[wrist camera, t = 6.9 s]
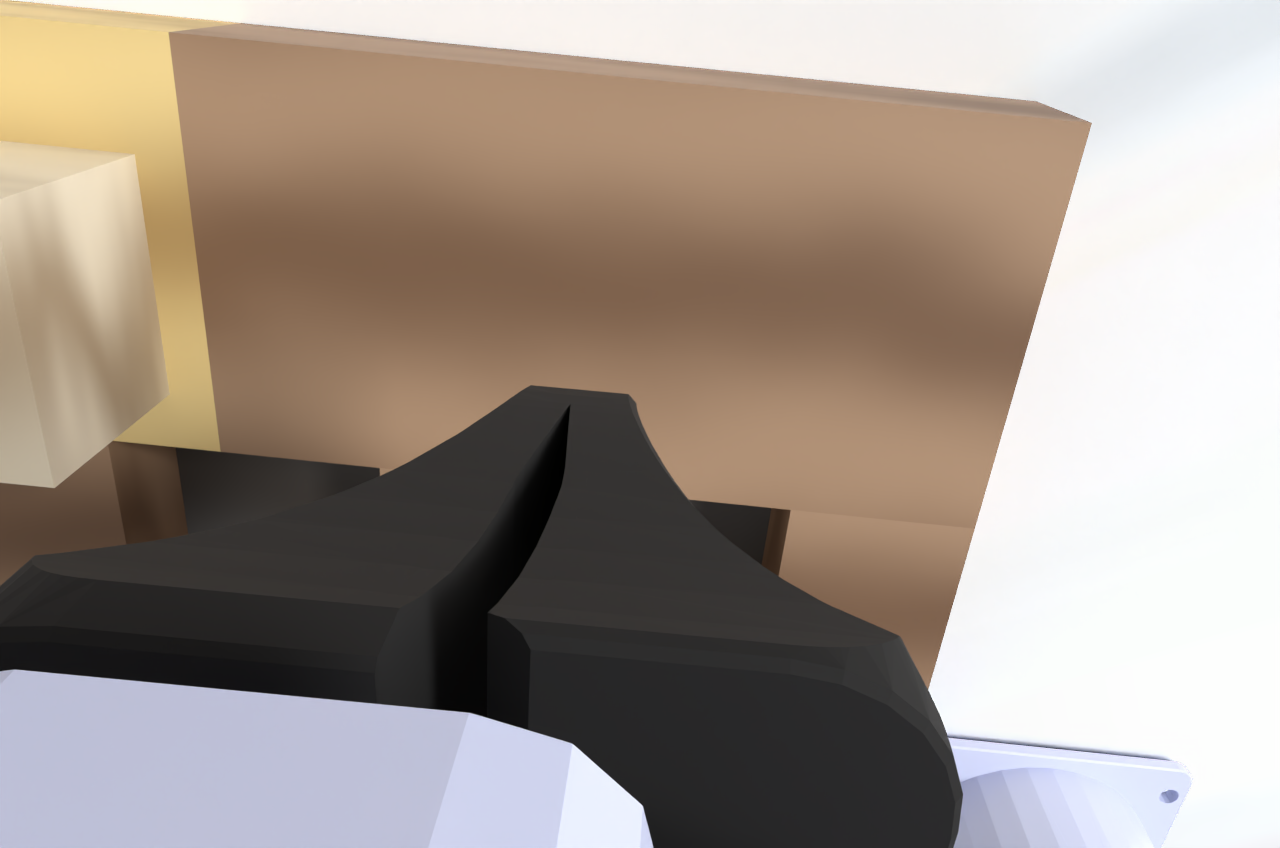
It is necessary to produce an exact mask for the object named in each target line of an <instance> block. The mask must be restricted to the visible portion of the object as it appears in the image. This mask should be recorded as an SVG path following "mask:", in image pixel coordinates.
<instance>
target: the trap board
mask: <svg viewBox="0 0 1280 848" xmlns="http://www.w3.org/2000/svg"><path fill="white" fill-rule="evenodd" d="M1091 124H1092V123H1090V122H1088V121H1085V120H1082V119H1080V118H1077V117H1075V116H1072V115H1070V114H1067V113H1064V112H1062V111H1059V110H1057V109H1054V108H1052V107H1049V106H1046V105H1044V104H1041V103H1039V102H1036V101H1026V100H1016V99H1006V98H996V97H985V96H975V95H965V94H955V93H945V92H935V91H924V90H914V89H904V88H894V87H884V86H874V85H863V84H853V83H843V82H833V81H823V80H813V79H802V78H792V77H782V76H772V75H762V74H752V73H741V72H731V71H721V70H711V69H701V68H691V67H680V66H670V65H660V64H650V63H640V62H630V61H619V60H609V59H599V58H589V57H579V56H569V55H558V54H548V53H538V52H528V51H518V50H508V49H497V48H487V47H477V46H467V45H457V44H447V43H436V42H426V41H416V40H406V39H396V38H386V37H375V36H365V35H355V34H345V33H335V32H325V31H314V30H304V29H294V28H284V27H274V26H264V25H253V24H243V23H233V22H223V21H213V20H203V19H192V18H182V17H172V16H162V15H152V14H142V13H131V12H121V11H111V10H101V9H91V8H81V7H70V6H60V5H50V4H40V3H30V2H20V1H9V0H0V141H8V142H18V143H28V144H38V145H48V146H58V147H68V148H78V149H88V150H98V151H108V152H118V153H128V154H135V160H136V167H137V174H138V181H139V187H140V194H141V201H142V208H143V215H144V222H145V228H146V235H147V242H148V249H149V256H150V263H151V269H152V276H153V283H154V290H155V297H156V304H157V310H158V317H159V324H160V331H161V338H162V345H163V351H164V358H165V365H166V372H167V379H168V386H169V392H170V395H168V396H167V397H166V398H165V399H163V400H162V401H161V402H160V403H159V404H157V405H156V406H155V407H154V408H152V409H151V410H150V411H149V412H147V413H146V414H145V415H144V416H143V417H141V418H140V419H139V420H138V421H136V422H135V423H134V424H133V425H132V426H130V427H129V428H128V429H127V430H125V431H124V432H123V433H122V434H120V435H119V436H118V437H117V438H116V439H114V440H113V441H112V442H111V443H109V444H108V445H107V446H106V447H104V448H103V449H102V450H101V451H100V452H98V453H97V454H96V455H95V456H93V457H92V458H91V459H90V460H88V461H87V462H86V463H85V464H84V465H82V466H81V467H80V468H79V469H77V470H76V471H75V472H74V473H72V474H71V475H70V476H69V477H68V478H66V479H65V480H64V481H63V482H61V483H60V484H59V485H58V486H57V487H55V488H48V487H38V486H29V485H19V484H9V483H0V586H1V585H2V584H3V583H4V582H5V581H6V580H7V579H9V578H10V577H11V576H12V575H13V574H14V573H15V572H16V571H18V570H19V569H20V568H21V567H22V566H23V565H24V564H26V563H27V562H28V561H29V560H30V559H31V558H32V557H34V556H35V555H44V554H54V553H64V552H72V551H79V550H87V549H95V548H103V547H110V546H118V545H126V544H134V543H141V542H149V541H155V540H160V539H166V538H172V537H178V536H183V535H188V534H193V533H198V532H202V531H207V530H212V529H217V528H222V527H226V526H230V525H234V524H238V523H242V522H247V521H251V520H255V519H259V518H262V517H266V516H269V515H272V514H276V513H279V512H282V511H285V510H288V509H291V508H295V507H298V506H301V505H304V504H307V503H310V502H313V501H317V500H320V499H323V498H326V497H329V496H332V495H335V494H337V493H340V492H343V491H345V490H348V489H350V488H353V487H355V486H357V485H360V484H362V483H365V482H367V481H369V480H372V479H374V478H377V477H379V476H381V475H383V474H385V473H387V472H389V471H392V470H394V469H396V468H398V467H400V466H402V465H404V464H406V463H408V462H410V461H411V460H413V459H415V458H417V457H418V456H420V455H422V454H424V453H425V452H427V451H429V450H430V449H432V448H434V447H436V446H437V445H439V444H441V443H443V442H444V441H446V440H448V439H450V438H451V437H453V436H455V435H457V434H458V433H460V432H461V431H463V430H464V429H466V428H467V427H469V426H470V425H472V424H473V423H475V422H476V421H478V420H479V419H481V418H482V417H484V416H485V415H487V414H488V413H490V412H491V411H493V410H494V409H496V408H497V407H499V406H500V405H501V404H503V403H504V402H506V401H507V400H509V399H510V398H511V397H513V396H514V395H516V394H517V393H519V392H520V391H522V390H523V389H525V388H526V387H528V386H530V385H534V386H546V387H557V388H568V389H579V390H590V391H601V392H612V393H623V394H629V395H630V396H631V397H632V399H633V400H634V401H635V402H636V403H637V411H638V414H639V417H640V420H641V422H642V425H643V427H644V429H645V431H646V434H647V436H648V438H649V440H650V442H651V444H652V445H653V447H654V449H655V451H656V452H657V454H658V456H659V457H660V459H661V461H662V462H663V464H664V466H665V467H666V469H667V470H668V472H669V473H670V475H671V476H672V478H673V479H674V481H675V482H676V484H677V485H678V486H679V488H680V489H681V490H682V492H683V493H684V494H685V496H686V497H687V498H688V500H689V501H690V502H691V503H692V504H693V506H694V507H695V508H696V509H697V510H698V511H699V512H700V513H701V514H702V515H703V516H704V517H705V518H706V519H707V520H708V521H709V522H710V523H711V524H712V525H713V526H714V527H715V528H716V529H717V530H718V531H719V532H720V533H721V534H722V535H724V536H725V537H726V538H727V539H728V540H729V541H731V542H732V543H733V544H734V545H736V546H737V547H738V548H740V549H741V550H742V551H743V552H745V553H746V554H747V555H749V556H750V557H751V558H753V559H754V560H755V561H757V562H758V563H759V564H761V565H762V566H763V567H765V568H767V569H768V570H770V571H771V572H773V573H774V574H776V575H777V576H779V577H780V578H782V579H783V580H785V581H787V582H789V583H790V584H792V585H794V586H796V587H797V588H799V589H801V590H803V591H804V592H806V593H808V594H810V595H811V596H813V597H815V598H817V599H818V600H820V601H822V602H824V603H826V604H828V605H830V606H832V607H835V608H837V609H839V610H842V611H844V612H846V613H848V614H851V615H853V616H855V617H858V618H860V619H862V620H865V621H867V622H869V623H871V624H874V625H876V626H878V627H881V628H883V629H885V630H888V631H890V632H892V633H894V634H897V635H899V636H900V637H901V639H902V640H903V642H904V644H905V646H906V648H907V650H908V652H909V654H910V656H911V658H912V660H913V662H914V664H915V666H916V668H917V669H918V671H919V673H920V675H921V677H922V679H923V681H924V683H925V685H926V687H927V689H928V688H929V685H930V681H931V678H932V674H933V671H934V667H935V664H936V660H937V657H938V654H939V650H940V647H941V643H942V640H943V636H944V633H945V629H946V626H947V622H948V619H949V615H950V612H951V609H952V605H953V602H954V598H955V595H956V591H957V588H958V584H959V581H960V577H961V574H962V570H963V567H964V564H965V560H966V557H967V553H968V550H969V546H970V543H971V539H972V536H973V532H974V529H975V525H976V522H977V519H978V515H979V512H980V508H981V505H982V501H983V498H984V494H985V491H986V487H987V484H988V480H989V477H990V474H991V470H992V467H993V463H994V460H995V456H996V453H997V449H998V446H999V442H1000V439H1001V435H1002V432H1003V429H1004V425H1005V422H1006V418H1007V415H1008V411H1009V408H1010V404H1011V401H1012V397H1013V394H1014V390H1015V387H1016V384H1017V380H1018V377H1019V373H1020V370H1021V366H1022V363H1023V359H1024V356H1025V352H1026V349H1027V345H1028V342H1029V339H1030V335H1031V332H1032V328H1033V325H1034V321H1035V318H1036V314H1037V311H1038V307H1039V304H1040V300H1041V297H1042V294H1043V290H1044V287H1045V283H1046V280H1047V276H1048V273H1049V269H1050V266H1051V262H1052V259H1053V255H1054V252H1055V249H1056V245H1057V242H1058V238H1059V235H1060V231H1061V228H1062V224H1063V221H1064V217H1065V214H1066V210H1067V207H1068V204H1069V200H1070V197H1071V193H1072V190H1073V186H1074V183H1075V179H1076V176H1077V172H1078V169H1079V165H1080V162H1081V159H1082V155H1083V152H1084V148H1085V145H1086V141H1087V138H1088V134H1089V131H1090V127H1091Z"/></svg>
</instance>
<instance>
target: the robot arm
mask: <svg viewBox="0 0 1280 848" xmlns="http://www.w3.org/2000/svg"><path fill="white" fill-rule="evenodd" d="M1192 781H1193V778H1192V776H1191V774H1190V772H1189V771H1188V769H1187V767H1186V766H1185V765H1183V764H1182V763H1180V762H1176V761H1168V760H1158V759H1148V758H1139V757H1129V756H1119V755H1110V754H1100V753H1091V752H1081V751H1071V750H1062V749H1052V748H1042V747H1033V746H1023V745H1013V744H1004V743H994V742H985V741H975V740H965V739H956V738H948V736H947V733H946V731H945V728H944V725H943V722H942V720H941V717H940V715H939V712H938V710H937V708H936V706H935V704H934V702H933V700H932V698H931V695H930V693H929V691H928V689H927V687H926V685H925V683H924V681H923V679H922V677H921V675H920V673H919V671H918V669H917V668H916V666H915V664H914V662H913V660H912V658H911V656H910V654H909V652H908V650H907V648H906V646H905V644H904V642H903V640H902V639H901V637H900V636H899V635H897V634H894V633H892V632H890V631H888V630H885V629H883V628H881V627H878V626H876V625H874V624H871V623H869V622H867V621H865V620H862V619H860V618H858V617H855V616H853V615H851V614H848V613H846V612H844V611H842V610H839V609H837V608H835V607H832V606H830V605H828V604H826V603H824V602H822V601H820V600H818V599H817V598H815V597H813V596H811V595H810V594H808V593H806V592H804V591H803V590H801V589H799V588H797V587H796V586H794V585H792V584H790V583H789V582H787V581H785V580H783V579H782V578H780V577H779V576H777V575H776V574H774V573H773V572H771V571H770V570H768V569H767V568H765V567H763V566H762V565H761V564H759V563H758V562H757V561H755V560H754V559H753V558H751V557H750V556H749V555H747V554H746V553H745V552H743V551H742V550H741V549H740V548H738V547H737V546H736V545H734V544H733V543H732V542H731V541H729V540H728V539H727V538H726V537H725V536H724V535H722V534H721V533H720V532H719V531H718V530H717V529H716V528H715V527H714V526H713V525H712V524H711V523H710V522H709V521H708V520H707V519H706V518H705V517H704V516H703V515H702V514H701V513H700V512H699V511H698V510H697V509H696V508H695V507H694V506H693V504H692V503H691V502H690V501H689V500H688V498H687V497H686V496H685V494H684V493H683V492H682V490H681V489H680V488H679V486H678V485H677V484H676V482H675V481H674V479H673V478H672V476H671V475H670V473H669V472H668V470H667V469H666V467H665V466H664V464H663V462H662V461H661V459H660V457H659V456H658V454H657V452H656V451H655V449H654V447H653V445H652V444H651V442H650V440H649V438H648V436H647V434H646V431H645V429H644V427H643V425H642V422H641V420H640V417H639V414H638V411H637V403H636V402H635V401H634V400H633V399H632V397H631V396H630V395H629V394H623V393H612V392H601V391H590V390H579V389H568V388H557V387H546V386H534V385H530V386H528V387H526V388H525V389H523V390H522V391H520V392H519V393H517V394H516V395H514V396H513V397H511V398H510V399H509V400H507V401H506V402H504V403H503V404H501V405H500V406H499V407H497V408H496V409H494V410H493V411H491V412H490V413H488V414H487V415H485V416H484V417H482V418H481V419H479V420H478V421H476V422H475V423H473V424H472V425H470V426H469V427H467V428H466V429H464V430H463V431H461V432H460V433H458V434H457V435H455V436H453V437H451V438H450V439H448V440H446V441H444V442H443V443H441V444H439V445H437V446H436V447H434V448H432V449H430V450H429V451H427V452H425V453H424V454H422V455H420V456H418V457H417V458H415V459H413V460H411V461H410V462H408V463H406V464H404V465H402V466H400V467H398V468H396V469H394V470H392V471H389V472H387V473H385V474H383V475H381V476H379V477H377V478H374V479H372V480H369V481H367V482H365V483H362V484H360V485H357V486H355V487H353V488H350V489H348V490H345V491H343V492H340V493H337V494H335V495H332V496H329V497H326V498H323V499H320V500H317V501H313V502H310V503H307V504H304V505H301V506H298V507H295V508H291V509H288V510H285V511H282V512H279V513H276V514H272V515H269V516H266V517H262V518H259V519H255V520H251V521H247V522H242V523H238V524H234V525H230V526H226V527H222V528H217V529H212V530H207V531H202V532H198V533H193V534H188V535H183V536H178V537H172V538H166V539H160V540H155V541H149V542H141V543H134V544H126V545H118V546H110V547H103V548H95V549H87V550H79V551H72V552H64V553H54V554H44V555H35V556H34V557H32V558H31V559H30V560H29V561H28V562H27V563H26V564H24V565H23V566H22V567H21V568H20V569H19V570H18V571H16V572H15V573H14V574H13V575H12V576H11V577H10V578H9V579H7V580H6V581H5V582H4V583H3V584H2V585H1V586H0V848H1162V846H1163V844H1164V841H1165V839H1166V837H1167V835H1168V833H1169V831H1170V829H1171V827H1172V825H1173V823H1174V821H1175V818H1176V816H1177V814H1178V812H1179V810H1180V808H1181V806H1182V804H1183V802H1184V800H1185V797H1186V795H1187V793H1188V791H1189V789H1190V787H1191V785H1192ZM1166 790H1168V791H1166ZM1164 791H1165V792H1164Z"/></svg>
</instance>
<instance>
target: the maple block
mask: <svg viewBox="0 0 1280 848" xmlns="http://www.w3.org/2000/svg"><path fill="white" fill-rule="evenodd" d="M168 395H170V392H169V386H168V379H167V372H166V365H165V358H164V351H163V345H162V338H161V331H160V324H159V317H158V310H157V304H156V297H155V290H154V283H153V276H152V269H151V263H150V256H149V249H148V242H147V235H146V228H145V222H144V215H143V208H142V201H141V194H140V187H139V181H138V174H137V167H136V160H135V154H128V153H118V152H108V151H98V150H88V149H78V148H68V147H58V146H48V145H38V144H28V143H18V142H8V141H0V483H9V484H19V485H29V486H38V487H48V488H55V487H57V486H58V485H59V484H60V483H61V482H63V481H64V480H65V479H66V478H68V477H69V476H70V475H71V474H72V473H74V472H75V471H76V470H77V469H79V468H80V467H81V466H82V465H84V464H85V463H86V462H87V461H88V460H90V459H91V458H92V457H93V456H95V455H96V454H97V453H98V452H100V451H101V450H102V449H103V448H104V447H106V446H107V445H108V444H109V443H111V442H112V441H113V440H114V439H116V438H117V437H118V436H119V435H120V434H122V433H123V432H124V431H125V430H127V429H128V428H129V427H130V426H132V425H133V424H134V423H135V422H136V421H138V420H139V419H140V418H141V417H143V416H144V415H145V414H146V413H147V412H149V411H150V410H151V409H152V408H154V407H155V406H156V405H157V404H159V403H160V402H161V401H162V400H163V399H165V398H166V397H167V396H168Z"/></svg>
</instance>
